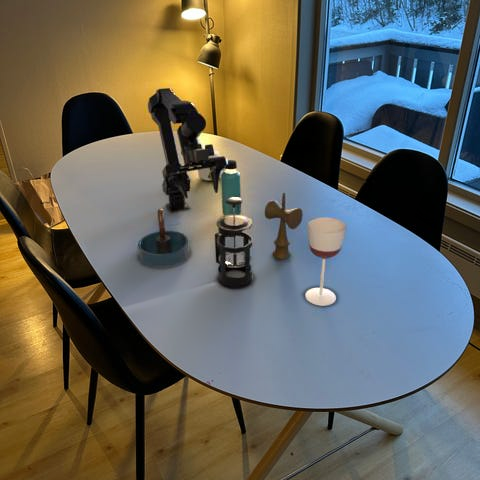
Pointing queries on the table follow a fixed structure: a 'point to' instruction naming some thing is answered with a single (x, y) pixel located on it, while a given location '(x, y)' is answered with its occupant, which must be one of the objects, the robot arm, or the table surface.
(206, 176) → the spread jar
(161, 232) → the peg on round base
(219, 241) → the french press
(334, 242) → the wineglass
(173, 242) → the dish
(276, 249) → the kendama
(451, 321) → the table surface
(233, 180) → the beverage bottle
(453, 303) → the table surface
